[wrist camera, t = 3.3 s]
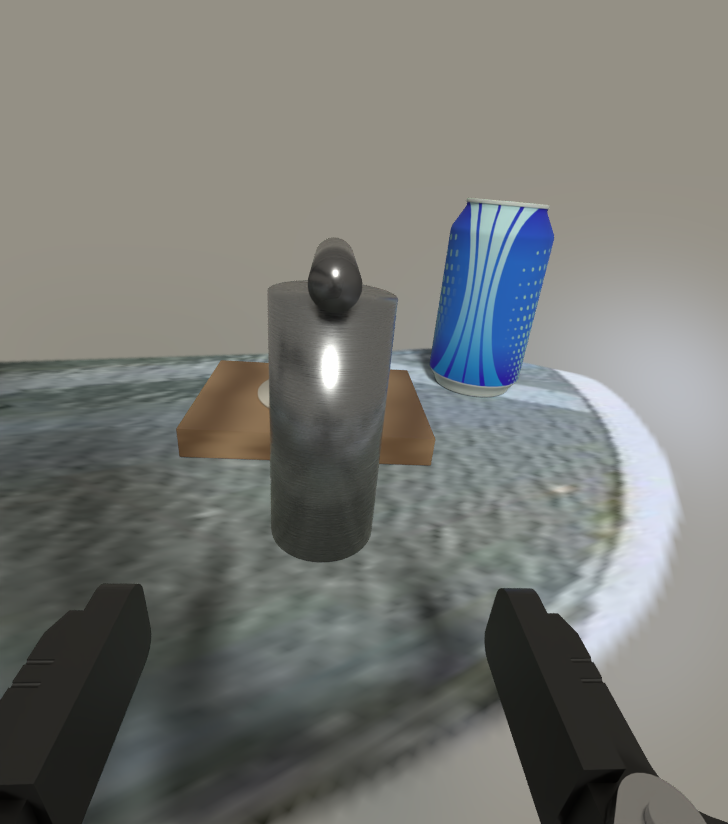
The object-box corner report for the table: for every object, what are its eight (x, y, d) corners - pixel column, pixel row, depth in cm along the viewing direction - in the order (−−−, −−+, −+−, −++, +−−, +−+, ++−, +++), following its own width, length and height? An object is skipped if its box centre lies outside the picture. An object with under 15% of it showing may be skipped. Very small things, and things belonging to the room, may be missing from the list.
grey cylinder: (263, 571, 20) (254, 250, 14) (278, 486, 26) (277, 232, 20) (376, 572, 21) (416, 263, 14) (367, 489, 26) (392, 242, 20)
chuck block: (179, 456, 28) (175, 425, 27) (222, 382, 38) (220, 358, 37) (430, 465, 29) (435, 436, 28) (404, 391, 40) (407, 368, 39)
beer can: (506, 409, 38) (557, 205, 31) (415, 385, 41) (443, 195, 34) (521, 379, 45) (565, 207, 38) (442, 361, 48) (469, 198, 41)
